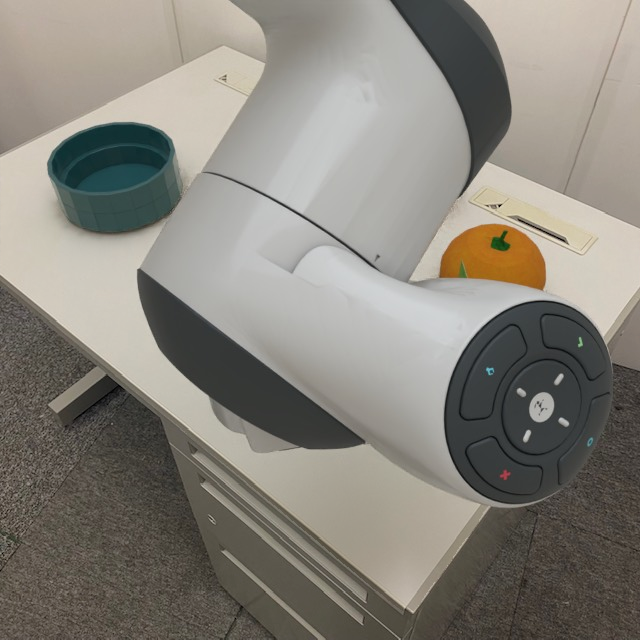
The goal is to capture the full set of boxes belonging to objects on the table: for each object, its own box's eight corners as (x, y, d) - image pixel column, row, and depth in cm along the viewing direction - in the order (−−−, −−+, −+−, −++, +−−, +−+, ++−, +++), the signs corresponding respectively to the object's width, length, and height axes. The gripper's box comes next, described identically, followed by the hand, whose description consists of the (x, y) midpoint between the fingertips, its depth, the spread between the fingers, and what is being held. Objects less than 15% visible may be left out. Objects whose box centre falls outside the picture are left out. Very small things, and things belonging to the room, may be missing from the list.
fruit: (487, 248, 81) (503, 184, 73) (558, 305, 75) (584, 240, 67) (414, 286, 77) (424, 222, 69) (483, 350, 70) (502, 286, 63)
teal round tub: (67, 246, 82) (50, 206, 77) (59, 174, 92) (44, 134, 87) (193, 219, 85) (184, 179, 80) (171, 152, 95) (163, 113, 90)
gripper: (538, 263, 38) (444, 271, 52) (197, 350, 34) (191, 334, 48) (559, 366, 39) (460, 347, 52) (226, 463, 35) (212, 416, 48)
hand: (330, 342), depth 50 cm, fingers open, 8 cm apart
